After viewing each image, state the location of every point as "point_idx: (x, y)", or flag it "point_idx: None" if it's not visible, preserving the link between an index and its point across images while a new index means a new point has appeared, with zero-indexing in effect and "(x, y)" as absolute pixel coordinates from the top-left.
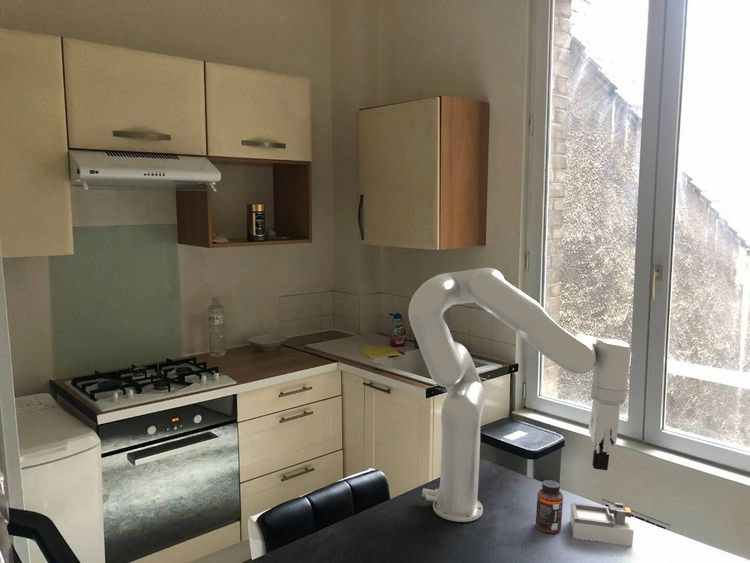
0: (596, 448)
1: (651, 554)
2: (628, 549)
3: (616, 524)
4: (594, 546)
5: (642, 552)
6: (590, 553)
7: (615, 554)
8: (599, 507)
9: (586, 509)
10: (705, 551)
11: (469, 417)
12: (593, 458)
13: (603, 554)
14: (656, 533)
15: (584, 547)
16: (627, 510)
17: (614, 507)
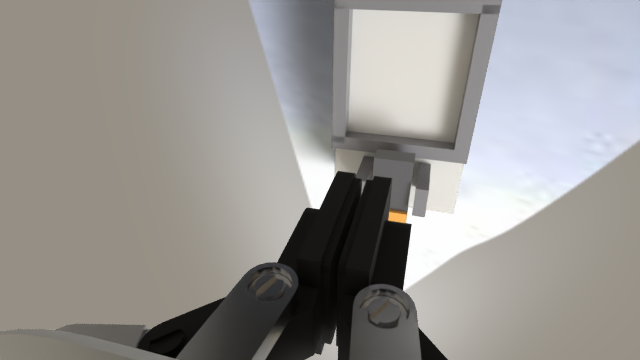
0: (283, 302)
1: (318, 203)
2: (328, 154)
3: (360, 154)
4: (320, 56)
5: (322, 185)
6: (275, 34)
7: (292, 111)
8: (459, 124)
9: (468, 66)
10: None
11: None
12: (364, 212)
13: (281, 75)
14: (433, 252)
15: (305, 19)
16: None
17: (398, 178)
